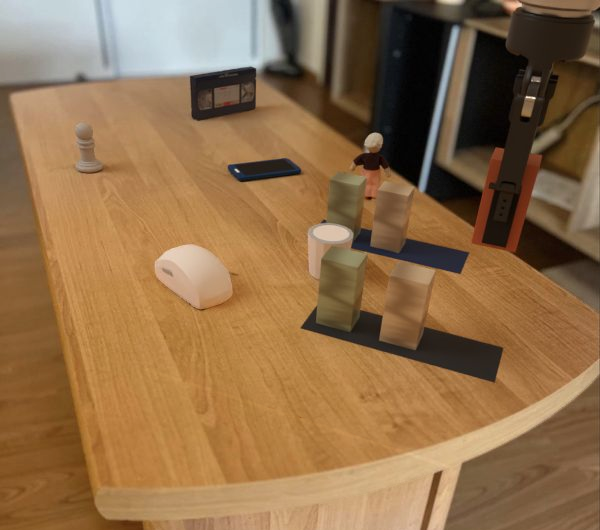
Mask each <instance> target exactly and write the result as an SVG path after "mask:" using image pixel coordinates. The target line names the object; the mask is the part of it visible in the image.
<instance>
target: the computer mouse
mask: <svg viewBox="0 0 600 530" xmlns="http://www.w3.org/2000/svg"><path fill="white" fill-rule="evenodd" d="M154 272H155V276H156V279H157V280H158V281H159V282H160V283H162V284H163V285H164V286H165V287H167V288H168V289H169V290H170V291H172V292H173V293H175V294H176V295H177V296H178V297H180V298H181V299H182V298H183V300H184V301H185V302H186V301H187V302H186V303H188V304H189V303H190V304H191V305H190V304H189V305H190V306H191V307H193V308H194V307H195V308H194V309H197V310H204V309H207V308H212V307H216V306H218V305H221V304H223V303H225V302H228V300H229V299H230V298H231V297H232V296H233V283H232V279H231V275H230V272H229V270H228V269H227V267H226V266H225V265H224V264H223V262H222V261H221V260H220V259H219V258H218V257H217V256H216V255H214V253H212V251H210V250H208V249H207V248H205V247H202V246H200V245H197V244H192V243H190V244H189V243H188V244H183V245H179V246H175V247H173V248H170V249H168V250H165V251H164V252H163V253H162V255H160V256H159V257H158V258H157V259H156V260H155V261H154Z"/></svg>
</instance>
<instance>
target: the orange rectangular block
mask: <svg viewBox="0 0 600 530" xmlns="http://www.w3.org/2000/svg"><path fill="white" fill-rule="evenodd" d="M504 149H505V148H504V147H503V148H502V147H495V149H494V151H493V153H492V156H491V157H490V159H489V164H488V169H487V174H486V178H485V181H484V186H483V190H482V195H481V199H480V203H479V207H478V212H477V216H476V221H475V224H474V229H473V233H472V238H471V241H470V243H471V244H472V245H477V246H481V247H487V248H491V249H495V250H500V251H506V252H510V253H516V251H517V248H518V244H519V241H520V237H521V234H522V230H523V226H524V223H525V219H526V216H527V213H528V209H529V206H530V202H531V198H532V194H533V192H534V187H535V184H536V180H537V177H538V173H539V170H540V166H541V162H542V159H543V154H538V153H532V152H531V153H530V155H529V158H528V162H527V166H526V169H525V173H524V177H523V180H522V184H521V185H522V190H521V193H520V197H519V201H518V204H517V208H516V212H515V216H514V219H513V223H512V227H511V230H510V234H509V238H508V241H507V245H506V248H504V247H499V246H494V245H490V244H485V243H482V239H483V234H484V230H485V226H486V222H487V218H488V214H489V210H490V206H491V202H492V198H493V194H494V189H488V188H489V184H490V182H493V183H495V182H496V181H497V178H498V174H499V170H500V166H501V162H502V157H503V153H504Z"/></svg>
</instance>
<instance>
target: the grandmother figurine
mask: <svg viewBox="0 0 600 530" xmlns="http://www.w3.org/2000/svg"><path fill="white" fill-rule="evenodd" d="M383 144H384V137H383V135H382V134H381V133H379V132H372V133H369V135H367V136H366V138H365V140H364V144H363V145H364V146H365V147H366V149H367V151H368V152H362V153H360V154H359V155H357V156H356V157H355V158H354V159H353V160H352V163H351V166H350V167H349V170H350V171H351V172H355V170H356V168H357V167H359V166H362V168H361V172H360V176H363V177H367V180H366V189H365V197H364V201H367V200H368V199H369V198H370V201H371V202H375V203H376V199H377V191H378V189H379V187H380V186H381V179H382V172H381V168H382V169H383V171H384V173H385V177H386V178H390V177H391V176H392V173H391V168H390V164H389V162H388V161H387V159H386V157H385V156H384V155H383V154H380V153H378V152H380V151H381V148H382V147H383Z"/></svg>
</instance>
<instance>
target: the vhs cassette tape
mask: <svg viewBox="0 0 600 530" xmlns="http://www.w3.org/2000/svg"><path fill="white" fill-rule="evenodd" d="M256 78H257V67H254V66H243V67H236V68H231V69H224V70H218V71H212V72H205V73H200V74H199V73H198V74H194V75H189V86H190V88H189V90H190V109H191V111H190V114H191V118H192V119H193V120H196V121H204V120H208V119H213V118H217V117H218V118H219V117H223V116H228V115H234V114H239V113H243V112H248V111H252V110H256V108H257V79H256Z"/></svg>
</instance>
